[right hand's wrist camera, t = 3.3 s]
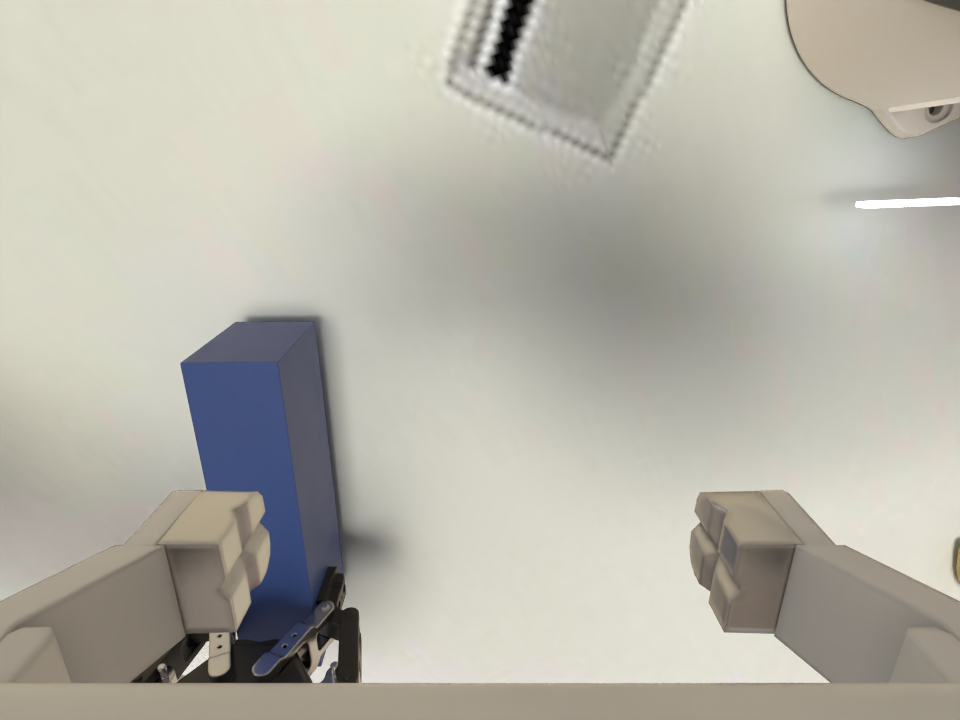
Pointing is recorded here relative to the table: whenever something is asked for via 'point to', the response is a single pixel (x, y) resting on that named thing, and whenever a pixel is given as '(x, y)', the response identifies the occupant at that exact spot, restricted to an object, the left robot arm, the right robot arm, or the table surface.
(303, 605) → the bar
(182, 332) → the table surface
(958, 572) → the toy gun
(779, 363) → the table surface
